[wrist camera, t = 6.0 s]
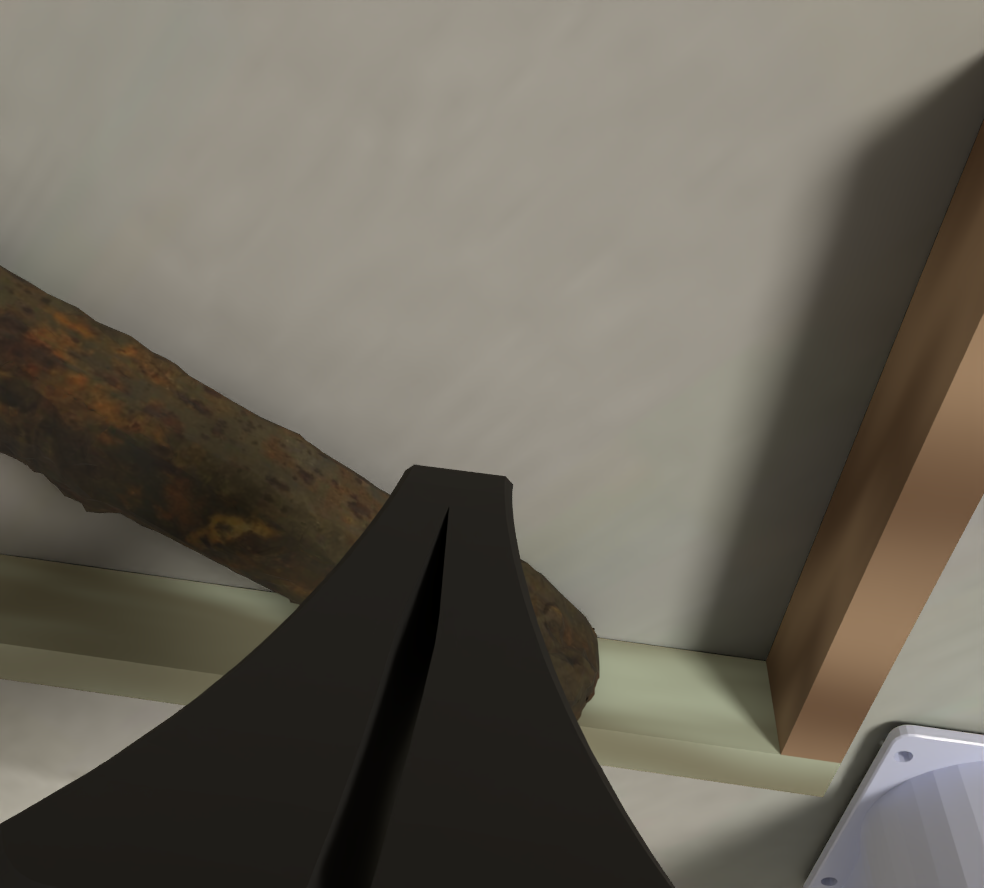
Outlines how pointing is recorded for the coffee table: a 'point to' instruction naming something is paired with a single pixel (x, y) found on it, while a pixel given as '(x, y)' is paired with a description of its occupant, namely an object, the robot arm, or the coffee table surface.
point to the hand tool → (202, 464)
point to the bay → (631, 666)
